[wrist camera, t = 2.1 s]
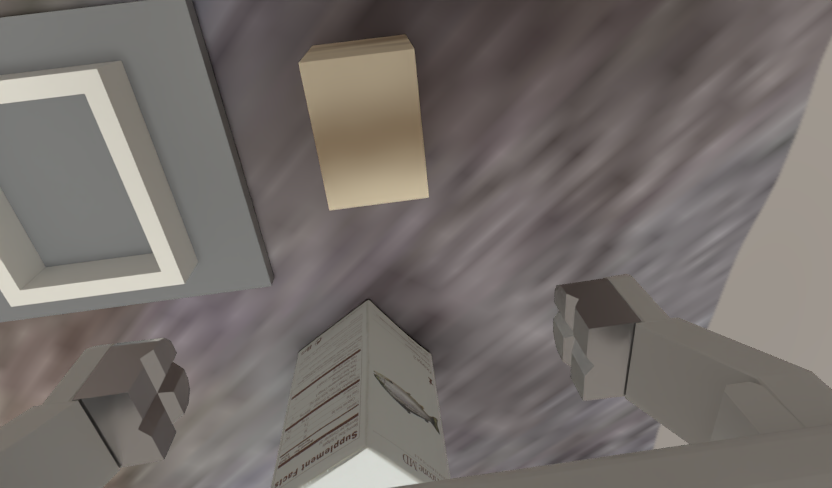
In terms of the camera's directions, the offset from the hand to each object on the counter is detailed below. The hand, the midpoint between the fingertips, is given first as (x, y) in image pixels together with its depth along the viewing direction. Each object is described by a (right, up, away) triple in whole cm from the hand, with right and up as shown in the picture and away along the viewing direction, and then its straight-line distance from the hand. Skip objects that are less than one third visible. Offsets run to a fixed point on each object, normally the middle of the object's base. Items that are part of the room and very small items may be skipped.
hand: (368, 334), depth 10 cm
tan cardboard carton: (-2, +10, +17) cm, 20 cm away
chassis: (-18, +6, +18) cm, 26 cm away
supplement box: (-3, -6, +26) cm, 27 cm away
